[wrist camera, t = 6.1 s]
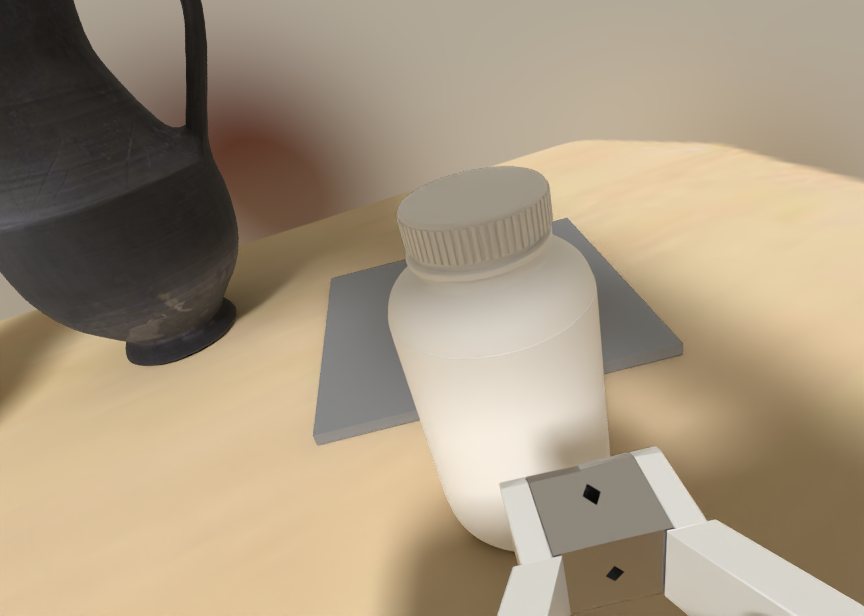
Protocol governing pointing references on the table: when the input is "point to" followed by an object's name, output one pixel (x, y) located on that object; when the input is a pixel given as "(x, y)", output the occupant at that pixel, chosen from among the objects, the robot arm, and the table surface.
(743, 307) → the table surface
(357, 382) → the mat
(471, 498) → the pill bottle
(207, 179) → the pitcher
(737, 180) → the table surface
